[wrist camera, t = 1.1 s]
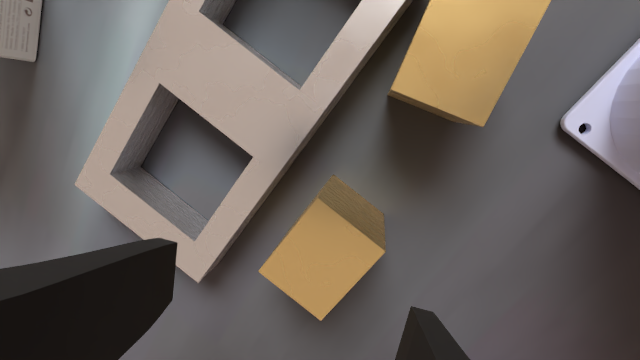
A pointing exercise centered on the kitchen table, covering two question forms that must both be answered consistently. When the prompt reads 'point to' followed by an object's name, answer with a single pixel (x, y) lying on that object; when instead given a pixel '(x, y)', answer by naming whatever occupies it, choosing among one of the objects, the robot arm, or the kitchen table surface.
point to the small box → (19, 29)
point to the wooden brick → (465, 56)
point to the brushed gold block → (327, 248)
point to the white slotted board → (219, 120)
